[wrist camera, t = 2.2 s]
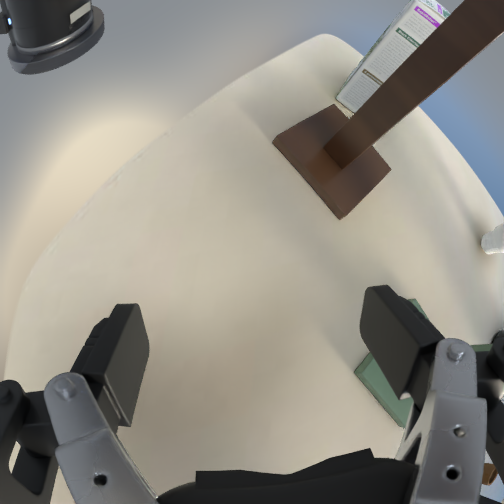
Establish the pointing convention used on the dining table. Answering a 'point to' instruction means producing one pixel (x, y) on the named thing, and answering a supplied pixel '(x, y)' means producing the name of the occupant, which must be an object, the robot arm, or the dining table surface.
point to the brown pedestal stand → (385, 109)
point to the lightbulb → (494, 240)
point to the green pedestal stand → (381, 387)
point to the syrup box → (391, 50)
